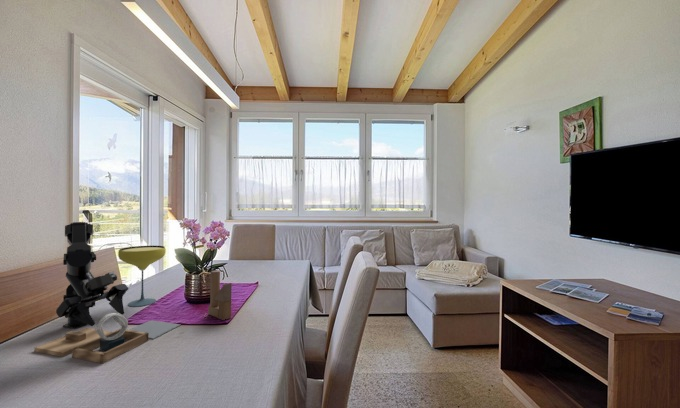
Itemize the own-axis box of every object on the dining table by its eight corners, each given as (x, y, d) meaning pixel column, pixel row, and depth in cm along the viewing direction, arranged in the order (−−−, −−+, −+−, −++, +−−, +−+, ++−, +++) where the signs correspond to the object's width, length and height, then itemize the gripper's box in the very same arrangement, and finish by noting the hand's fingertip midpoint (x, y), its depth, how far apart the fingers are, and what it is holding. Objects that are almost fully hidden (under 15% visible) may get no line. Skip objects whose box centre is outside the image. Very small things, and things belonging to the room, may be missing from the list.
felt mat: (121, 334, 105) (121, 333, 105) (150, 321, 117) (150, 320, 117) (153, 339, 102) (153, 338, 101) (180, 325, 113) (180, 324, 113)
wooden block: (223, 320, 118) (223, 275, 118) (207, 314, 124) (208, 271, 124) (231, 317, 121) (232, 273, 121) (216, 312, 127) (216, 269, 127)
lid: (34, 351, 93) (34, 340, 93) (86, 331, 107) (86, 322, 107) (62, 356, 90) (62, 346, 90) (112, 335, 104) (112, 326, 104)
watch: (131, 345, 97) (131, 311, 97) (102, 356, 90) (102, 319, 90) (122, 341, 100) (122, 308, 100) (92, 351, 93) (93, 316, 93)
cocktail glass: (122, 299, 142) (122, 246, 142) (166, 294, 150) (166, 244, 150) (113, 312, 126) (114, 252, 126) (163, 306, 134) (164, 249, 134)
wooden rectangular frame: (72, 357, 89) (72, 348, 89) (120, 335, 104) (120, 328, 104) (102, 363, 86) (102, 354, 86) (148, 340, 101) (148, 332, 101)
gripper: (63, 271, 88) (91, 313, 85) (124, 260, 106) (149, 294, 103) (44, 296, 90) (70, 338, 87) (107, 281, 108) (131, 315, 105)
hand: (109, 319), depth 95 cm, fingers open, 9 cm apart
